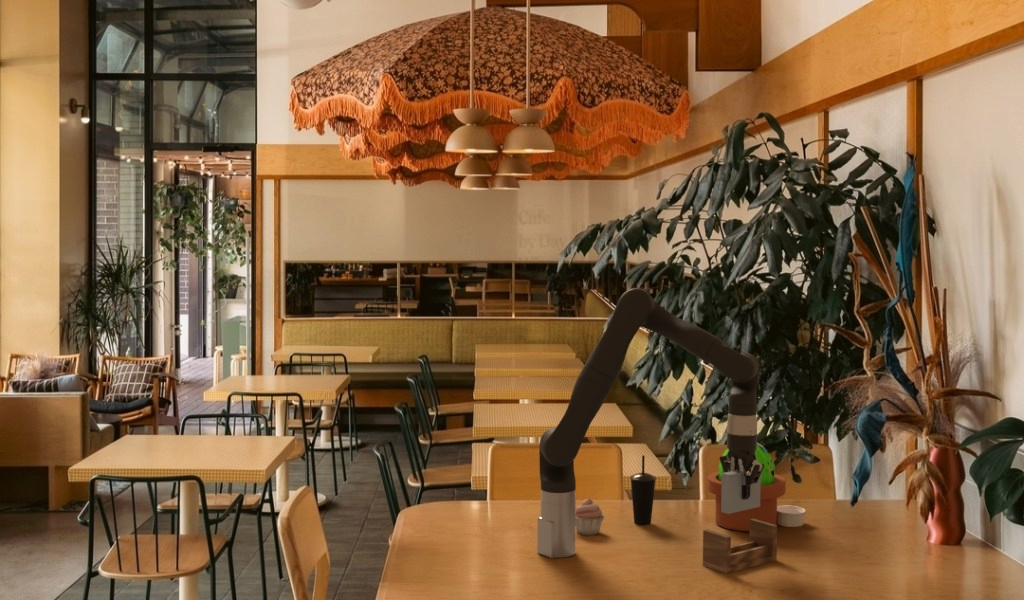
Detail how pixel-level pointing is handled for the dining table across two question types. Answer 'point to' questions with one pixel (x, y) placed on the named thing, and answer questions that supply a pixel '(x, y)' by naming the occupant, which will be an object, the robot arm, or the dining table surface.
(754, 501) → the gray rectangular slab
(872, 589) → the dining table surface
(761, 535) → the wooden card holder
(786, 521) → the ramekin
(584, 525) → the cupcake
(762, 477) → the potted cactus
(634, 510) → the drinking cup
